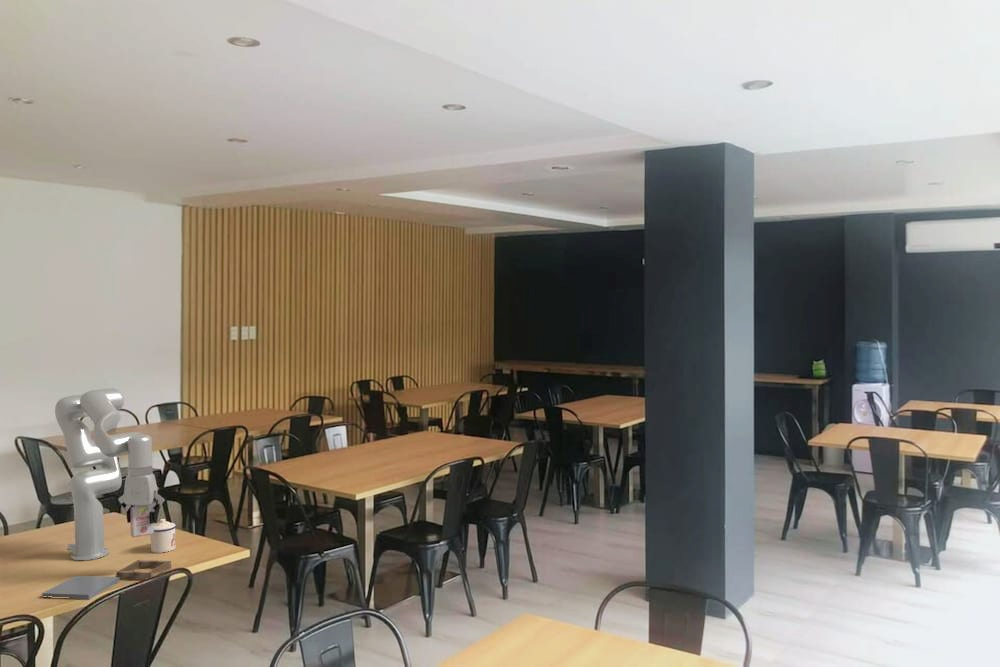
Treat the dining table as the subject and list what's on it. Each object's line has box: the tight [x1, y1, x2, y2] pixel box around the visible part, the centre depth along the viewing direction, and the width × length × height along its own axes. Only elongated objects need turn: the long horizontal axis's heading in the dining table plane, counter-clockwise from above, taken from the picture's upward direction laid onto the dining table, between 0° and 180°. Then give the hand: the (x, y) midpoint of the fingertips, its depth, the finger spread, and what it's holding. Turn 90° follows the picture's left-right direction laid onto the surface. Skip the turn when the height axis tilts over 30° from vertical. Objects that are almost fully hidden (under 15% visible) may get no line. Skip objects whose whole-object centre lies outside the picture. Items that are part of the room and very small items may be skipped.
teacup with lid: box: [150, 518, 177, 554], centre depth 299 cm, size 12×9×12 cm
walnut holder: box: [115, 559, 172, 581], centre depth 271 cm, size 12×12×2 cm
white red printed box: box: [129, 505, 155, 538], centre depth 270 cm, size 4×7×10 cm, turn 124°
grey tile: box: [41, 575, 121, 600], centre depth 257 cm, size 16×16×2 cm
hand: (142, 521), depth 270 cm, fingers closed on white red printed box, 7 cm apart
